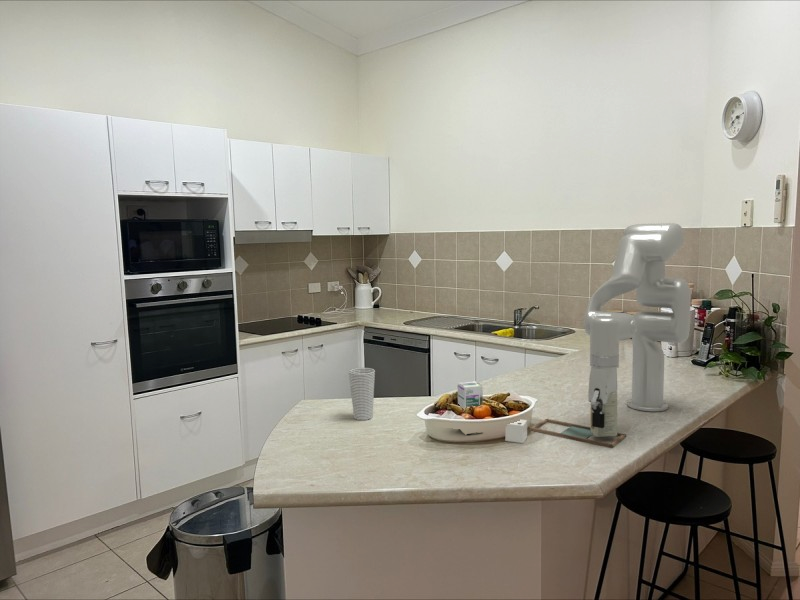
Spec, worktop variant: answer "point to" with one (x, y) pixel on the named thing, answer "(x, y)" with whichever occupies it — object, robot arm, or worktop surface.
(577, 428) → the wooden frame
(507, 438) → the die
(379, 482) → the worktop surface
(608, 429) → the skincare box
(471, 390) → the syrup box
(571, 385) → the worktop surface
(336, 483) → the worktop surface
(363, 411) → the cup
